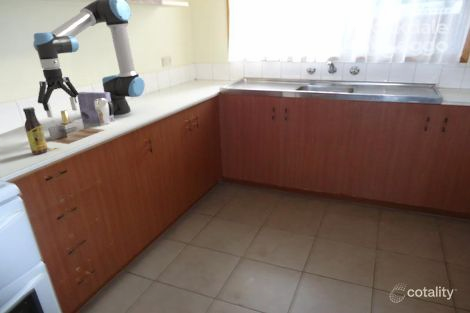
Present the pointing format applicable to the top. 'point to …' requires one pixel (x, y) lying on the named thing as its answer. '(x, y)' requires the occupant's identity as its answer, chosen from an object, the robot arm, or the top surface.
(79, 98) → the cake pan box
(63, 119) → the hinge pin
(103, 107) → the beer glass
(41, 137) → the sauce bottle
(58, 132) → the grey rectangular block
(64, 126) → the grey block
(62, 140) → the walnut board
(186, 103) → the top surface
